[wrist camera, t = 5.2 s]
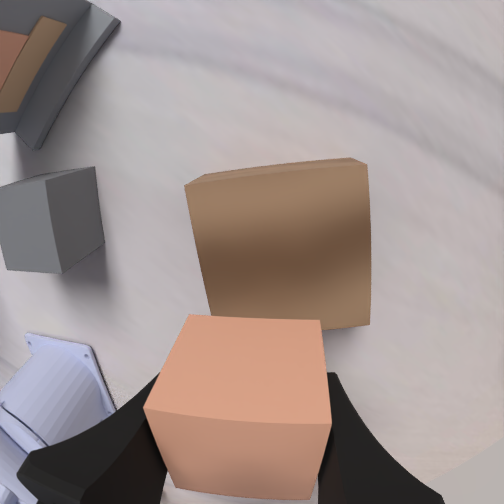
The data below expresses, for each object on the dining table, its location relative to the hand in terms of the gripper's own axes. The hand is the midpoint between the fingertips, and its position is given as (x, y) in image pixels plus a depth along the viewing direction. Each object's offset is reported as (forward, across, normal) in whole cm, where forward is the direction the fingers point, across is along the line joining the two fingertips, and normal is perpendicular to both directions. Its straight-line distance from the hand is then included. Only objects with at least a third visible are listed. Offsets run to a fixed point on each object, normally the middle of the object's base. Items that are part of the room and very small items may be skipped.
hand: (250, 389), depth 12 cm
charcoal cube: (+9, +13, -5) cm, 16 cm away
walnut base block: (+9, -1, -3) cm, 10 cm away
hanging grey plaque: (+8, +14, -15) cm, 22 cm away
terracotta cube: (+2, 0, 0) cm, 2 cm away
